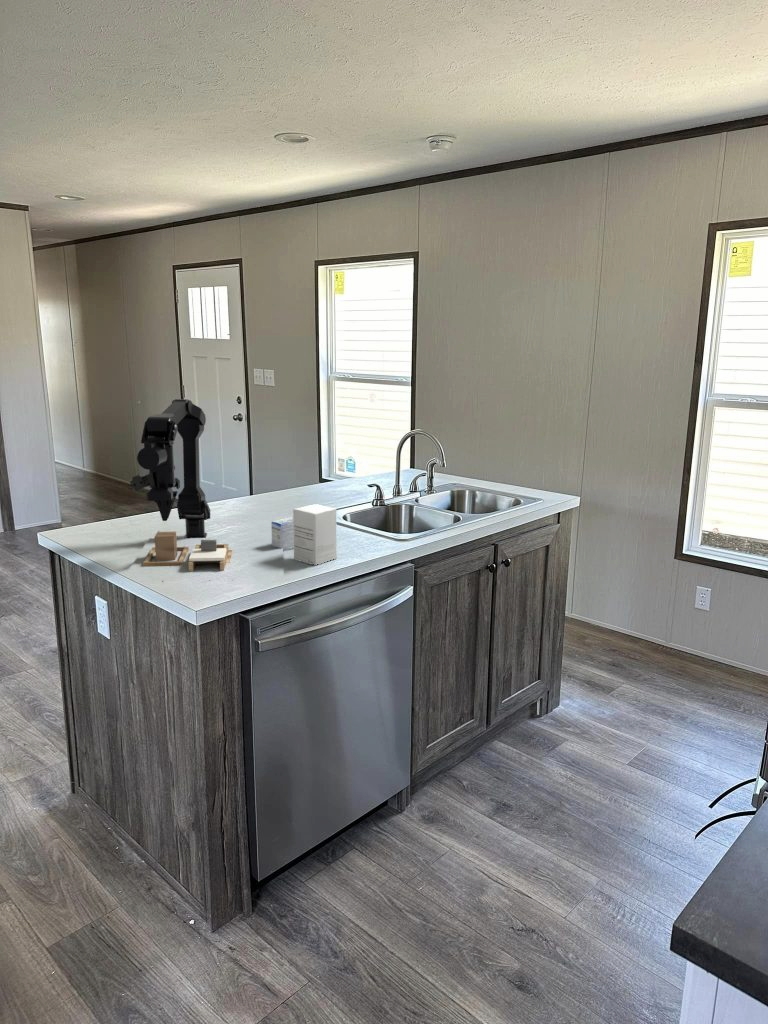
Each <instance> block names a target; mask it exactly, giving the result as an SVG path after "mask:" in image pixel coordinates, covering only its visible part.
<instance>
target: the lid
mask: <svg viewBox="0 0 768 1024" xmlns="http://www.w3.org/2000/svg"><path fill="white" fill-rule="evenodd" d="M217 544H218V543H217V539H201V541H200V545H201V549H195V548H192V549H191V553H190V554H189V558H188V562H189V561H224V559H225V555H226V548H217Z"/></svg>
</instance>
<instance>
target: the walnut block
mask: <svg viewBox="0 0 768 1024" xmlns="http://www.w3.org/2000/svg"><path fill="white" fill-rule="evenodd" d="M177 540H178V539H177V531H175V530H174V531H157V532H156V533H155V535H154V547H155V551H156V552H155V561H175V560H176V559H177V556H178V551H177V547H178V542H177Z"/></svg>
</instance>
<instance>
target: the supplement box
mask: <svg viewBox="0 0 768 1024" xmlns="http://www.w3.org/2000/svg"><path fill="white" fill-rule="evenodd" d="M292 518H293V532H294V548H293V560H294V559H295V561H298V560H300V561H299V562H301V561H303V562H302V563H305V562H307V563H306V564H308V563H311V564H310V565H312V564H314V565H313V566H315V565H316V566H318V565H317V564H319V565H321V563H322V564H325V563H327V561H328V562H331V561H334V560H337V558H338V556H337V555H338V554H337V552H338V550H337V548H338V547H337V546H338V543H337V542H338V541H337V539H338V538H337V535H338V534H337V529H338V528H337V526H338V525H337V508H335V507H331V506H326V505H325V506H324V505H321V504H317V503H316V504H314V503H313V504H310V505H305V506H301V507H296V508H293V509H292ZM333 559H334V560H333ZM330 560H331V561H330ZM324 562H325V563H324Z"/></svg>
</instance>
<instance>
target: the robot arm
mask: <svg viewBox="0 0 768 1024" xmlns="http://www.w3.org/2000/svg"><path fill="white" fill-rule="evenodd" d="M206 421H207V419H206V414H205V412H204V410H203V409H202V408H201V407H199V406H197V405H195V404H194V403H193V402H192V400H190V399H186V398H185V399H184V398H175V399H172V401H171V404H170V405H169V406H168V407H167V408H165V410H163V411H162V413H156V414H152V415H149V416H148V417H147V419H146V421H145V422H144V425H143V429H142V435H141V440H140V443H141V444H143V448H141V449H140V450H139V452H138V453H137V456H136V458H137V463H138V465H139V466H140V467H141V468H143V469H144V470H149V471H148V472H146V473H143V474H137V475H134V476H132V478H131V479H130V480H129V483H130V487H131V488H132V490H133V492H135V493H136V492H138V491H140V490H141V489H143V488H144V489H145V488H147V487H149V488H150V489H149V490H148V491H147V492H146V501H148V502H154V503H155V504H156V505H157V507H158V512H159V514H160V517H161V520H162V522H167V521H168V519H169V517H170V514H171V512H172V509H173V506H174V503H175V501H176V498H177V497H178V498H177V499H178V500H177V503H176V509H177V514H178V519H179V520H185V535H184V537H183V539H206V538H207V536H208V533H207V532H206V531H205V521H207V520H210V519H211V514H212V513H211V508H210V506H209V504H208V501H207V500H206V493H205V492H204V490H203V489H202V487H201V485H200V484H201V483H200V482H201V481H200V442H199V441H200V438H201V436H202V434H203V433H204V431H205V425H206ZM177 434H179V436H180V437H181V439H182V455H183V456H182V458H183V459H182V463H183V488H182V490H180V493H179V492H178V491H176V490H174V491H173V489H172V488H176V489H177V490H179V489H180V488H181V481H180V479H178V477H175V470H176V465H175V464H174V446H173V445H175V444H174V443H175V442H174V441H175V440H176V436H177ZM177 494H178V495H177Z"/></svg>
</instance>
